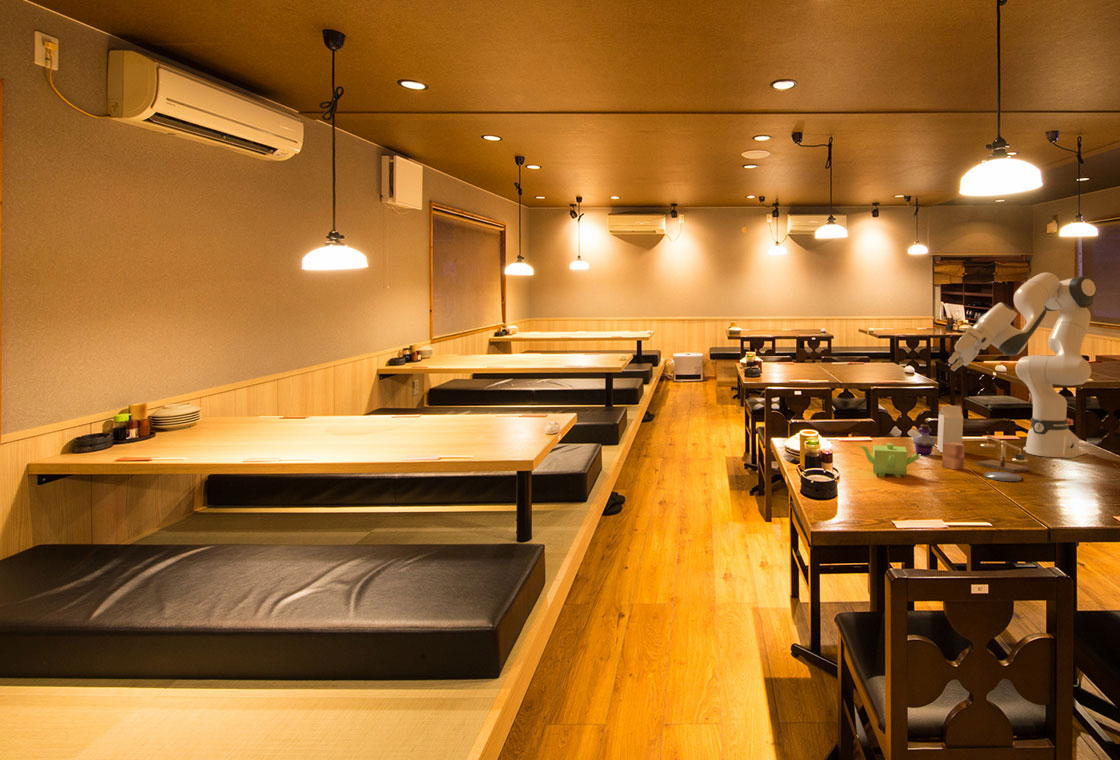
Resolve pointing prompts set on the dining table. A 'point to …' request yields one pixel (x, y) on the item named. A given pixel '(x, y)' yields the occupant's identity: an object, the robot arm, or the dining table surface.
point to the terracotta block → (953, 455)
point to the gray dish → (1002, 476)
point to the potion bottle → (924, 441)
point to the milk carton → (949, 426)
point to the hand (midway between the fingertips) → (950, 366)
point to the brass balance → (1002, 463)
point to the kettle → (889, 459)
